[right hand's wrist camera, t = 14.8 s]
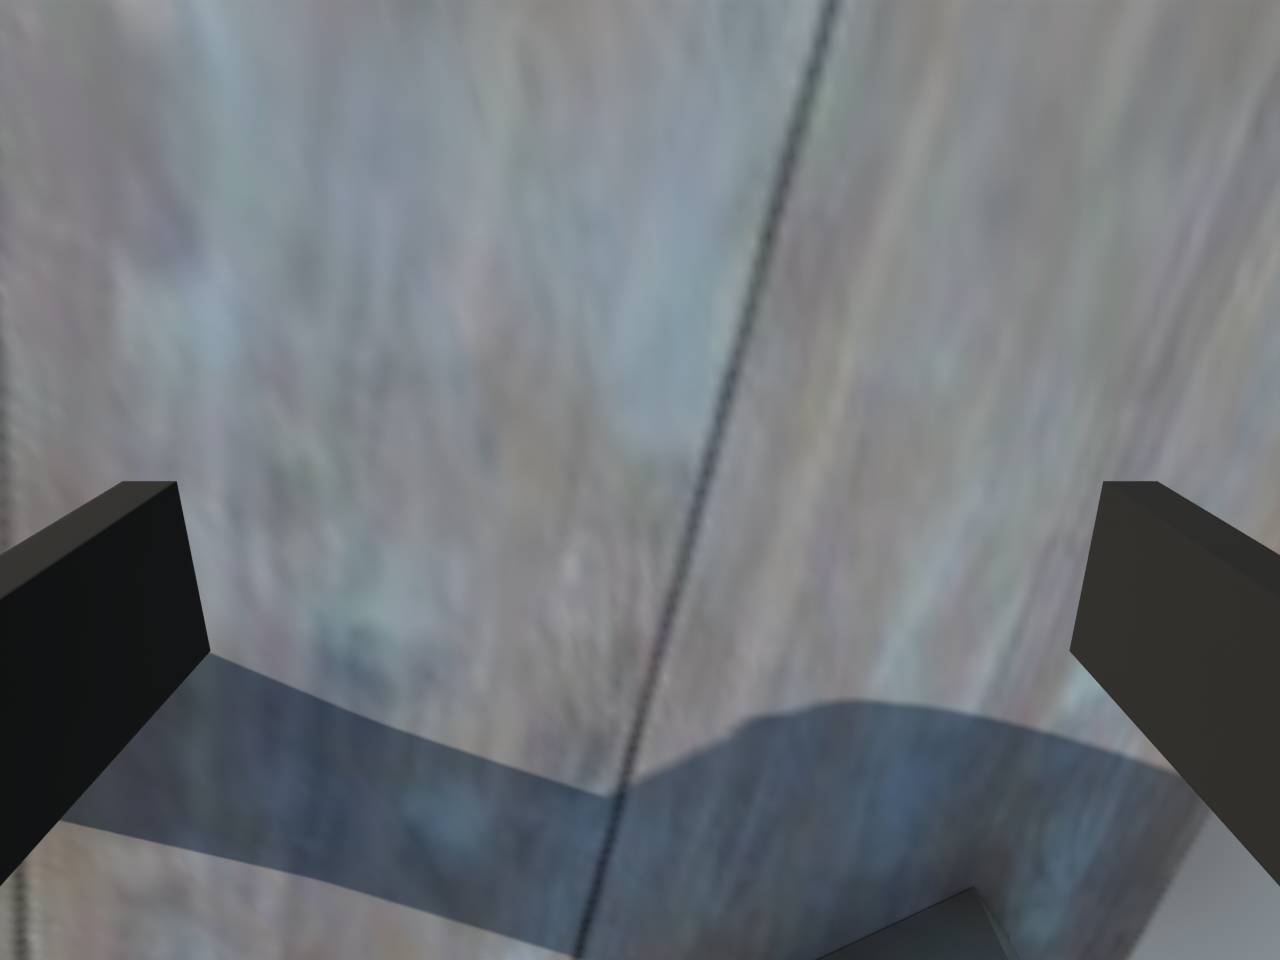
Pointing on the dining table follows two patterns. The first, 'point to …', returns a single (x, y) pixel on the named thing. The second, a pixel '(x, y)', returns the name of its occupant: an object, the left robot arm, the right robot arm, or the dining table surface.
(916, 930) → the bar
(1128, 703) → the right robot arm
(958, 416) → the dining table surface
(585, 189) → the dining table surface
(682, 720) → the dining table surface
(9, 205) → the dining table surface
